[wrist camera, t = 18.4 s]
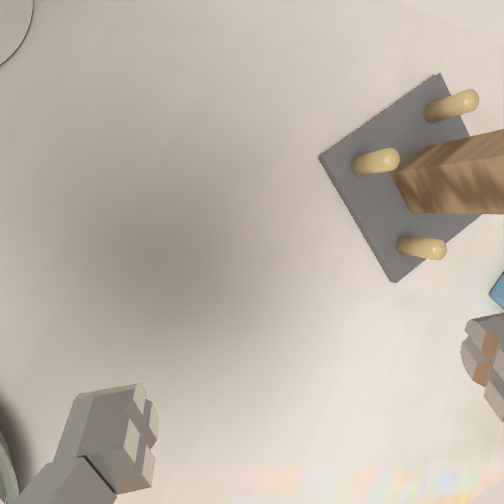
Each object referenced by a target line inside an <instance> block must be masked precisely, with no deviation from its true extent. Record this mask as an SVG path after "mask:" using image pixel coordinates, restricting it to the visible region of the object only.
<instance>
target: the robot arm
mask: <svg viewBox="0 0 504 504" xmlns="http://www.w3.org/2000/svg"><path fill="white" fill-rule="evenodd" d="M32 10H33V0H0V64H2V63H3V62H4V61H5V60H7V59H8V58H9V57H10V56H11V55H12V54H13V53H14V52H15V50H16V49H17V48H18V47H19V45H20V44H21V42H22V40H23V39H24V37H25V35H26V32H27V30H28V27H29V24H30V21H31V16H32ZM465 332H466V333H467V334H468V335H469V336H468V337H467V338H466V339H465V340H464V341H463V342H462V346H461V352H460V353H461V358H462V362H463V365H464V367H465V369H466V371H467V373H468V374H469V376H470V377H471V379H472V380H473V381H475V382H476V383H478V384H480V385H482V386H484V397H485V399H486V400H487V402H488V403H489V405H490V406H491V407H492V409H493V410H494V412H495V413H496V414H497V416H498V417H499V419H500V420H501V422H503V421H504V313H500V314H495V315H490V316H485V317H480V318H476V319H471V320H469V321H468V322H467V324H466V328H465ZM145 397H146V390H145V388H144V387H143V385H142V384H134V385H128V386H122V387H116V388H110V389H104V390H98V391H92V392H87V393H81V394H79V395H78V396H77V397H76V398H75V400H74V402H73V405H72V408H71V410H70V413H69V416H68V419H67V422H66V425H65V428H64V431H63V434H62V437H61V440H60V443H59V446H58V449H57V452H56V455H55V458H54V461H53V462H52V463H47V464H46V465H45V466H44V467H43V468H42V470H41V471H40V472H39V473H38V474H37V475H36V476H35V477H34V479H33V480H32V481H31V482H30V483H29V484H28V485H27V487H26V488H25V489H24V490H23V491H22V492H21V493H20V494H19V496H18V497H17V498H16V499H15V500H14V501H13V502H12V504H113V503H114V501H115V499H116V498H117V496H116V495H118V494H123V493H127V492H132V491H136V490H141V489H146V488H150V487H152V479H153V470H154V462H155V458H154V456H153V454H152V453H151V451H150V449H151V448H152V446H153V445H154V444H155V442H156V441H157V435H158V418H157V413H156V409H155V407H154V405H153V403H152V402H151V401H149V400H147V399H145Z"/></svg>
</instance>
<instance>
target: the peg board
mask: <svg viewBox="0 0 504 504" xmlns="http://www.w3.org/2000/svg"><path fill="white" fill-rule="evenodd" d="M478 104H479V96H478V94H477V92H476V91H475V90H473V89H468V90H465V91H462V92H460V93H457V94H455V95H452V96H451V95H450V93H449V91H448V88H447V86H446V84H445V82H444V80H443V78H442V75H441V73H439V74H437V75H434V76H433V77H431V78H430V79H428V80H427V81H426V82H424V83H423V84H421V85H420V86H419V87H417V88H416V89H414V90H413V91H411V92H410V93H409V94H407V95H406V96H404V97H403V98H402V99H400V100H399V101H397V102H396V103H395V104H393V105H392V106H390V107H389V108H388V109H386V110H385V111H383V112H382V113H380V114H379V115H378V116H376V117H375V118H373V119H372V120H371V121H369V122H368V123H366V124H365V125H364V126H362V127H361V128H359V129H358V130H357V131H355V132H354V133H352V134H351V135H349V136H348V137H347V138H345V139H344V140H342V141H341V142H340V143H338V144H337V145H335V146H334V147H333V148H331V149H330V150H328V151H327V152H325V153H324V154H323V155H321V156H320V157H318V158H319V160H320V161H321V163H322V165H323V167H324V168H325V170H326V172H327V173H328V175H329V177H330V179H331V180H332V182H333V184H334V185H335V187H336V189H337V191H338V192H339V194H340V196H341V197H342V199H343V201H344V203H345V204H346V206H347V208H348V209H349V211H350V213H351V215H352V216H353V218H354V220H355V221H356V223H357V225H358V227H359V228H360V230H361V232H362V233H363V235H364V237H365V239H366V240H367V242H368V244H369V245H370V247H371V249H372V251H373V252H374V254H375V256H376V257H377V259H378V261H379V263H380V264H381V266H382V268H383V270H384V271H385V273H386V275H387V276H388V278H389V280H390V281H391V282H394V283H397V282H398V281H399V280H401V279H402V278H403V277H404V276H406V275H407V274H408V273H409V272H411V271H412V270H413V269H414V268H416V267H417V266H418V265H419V264H421V263H422V262H423V261H424V260H426V259H432V260H440V259H442V258H443V257H444V256H445V254H446V251H447V247H446V243H447V242H448V241H449V240H451V239H452V238H453V237H454V236H456V235H457V234H458V233H459V232H460V231H462V230H463V229H464V228H465V227H467V226H468V225H469V224H470V223H472V222H473V221H474V220H475V219H477V218H478V217H479V216H480V215H482V214H457V213H411V212H410V210H409V208H408V206H407V205H406V203H405V201H404V199H403V197H402V195H401V193H400V192H399V190H398V188H397V186H396V184H395V182H394V180H393V178H392V177H391V175H390V172H392V171H393V170H394V169H396V168H397V167H398V166H400V165H401V164H402V163H404V162H405V161H406V160H408V159H409V158H411V157H412V156H413V155H415V154H416V153H417V152H419V151H420V150H421V149H423V148H424V147H427V146H431V145H436V144H440V143H445V142H449V141H453V140H458V139H462V138H467V137H470V136H469V134H468V132H467V129H466V127H465V125H464V123H463V121H462V119H461V116H460V115H461V114H465V113H468V112H471V111H474V110H475V109H476V108H477V107H478Z"/></svg>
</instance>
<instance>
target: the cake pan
mask: <svg viewBox="0 0 504 504" xmlns="http://www.w3.org/2000/svg"><path fill="white" fill-rule="evenodd" d="M18 496H19V488H18V483H17V478H16V474H15V472H14V469H13V464H12V458H11V454H10V450H9V447H8V444H7V441H6V439H5V437H4V435H3V433H2V431H1V429H0V498H1V500H2V501H3V502H4V504H5V499H6V497H7V500H6V504H12V502H13V501H14V500H15V499H16V498H17V497H18Z"/></svg>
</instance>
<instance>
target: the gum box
mask: <svg viewBox="0 0 504 504" xmlns="http://www.w3.org/2000/svg"><path fill="white" fill-rule="evenodd" d="M489 295H490V296H491V297H492V298H493V299H494V300H495V301H496V302H497V303H498V304H499V305H500V306H501V307H502V308H504V273H503V274H502V276H501V277H500V278H499V280H498V281H497V282H496V284H495V285H494V287H493V288H492V290H491V291H490V293H489Z"/></svg>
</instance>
